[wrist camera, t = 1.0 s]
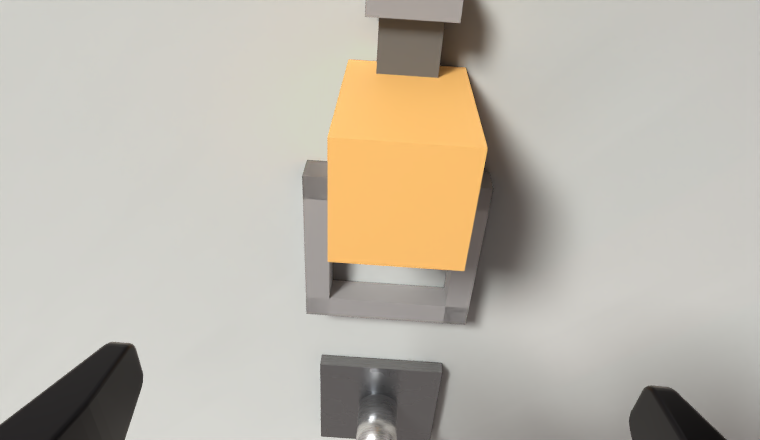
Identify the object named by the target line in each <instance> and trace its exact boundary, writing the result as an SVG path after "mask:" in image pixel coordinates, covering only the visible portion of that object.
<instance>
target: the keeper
mask: <svg viewBox="0 0 760 440" xmlns="http://www.w3.org/2000/svg"><path fill="white" fill-rule="evenodd" d="M320 377H321V436H323V437H338V438H352V439H356V440H430V436H431V430H432V425H433V420H434V414H435V409H436V403H437V398H438V393H439V387H440V382H441V377H442V363H433V362H418V361H403V360H389V359H374V358H360V357H345V356H330V355H322V357H321V364H320Z"/></svg>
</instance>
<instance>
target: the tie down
mask: <svg viewBox="0 0 760 440" xmlns="http://www.w3.org/2000/svg"><path fill="white" fill-rule="evenodd" d="M462 7H463V0H366V6H365V17H378V18H379V31H378V50H377V61H363V60H348V63H347V67H346V71H345V75H344V78H343V82H342V86H341V89H340V93H339V97H338V100H337V104H336V108H335V112H334V115H333V119H332V123H331V126H330V130H329V134H328V161H313V160H307V162H306V166H305V169H304V172H303V175H302V183H303V216H304V248H305V280H306V312H307V314H317V315H332V316H347V317H361V318H376V319H390V320H405V321H420V322H434V323H449V324H463V325H465V324H466V319H467V315H468V310H469V305H470V300H471V295H472V290H473V286H474V281H475V276H476V271H477V266H478V261H479V257H480V252H481V247H482V242H483V237H484V232H485V228H486V223H487V218H488V213H489V208H490V204H491V199H492V194H493V185H492V181H491V177H490V173H489V172H483V171H484V165H485V160H486V155H487V149H488V148H487V144H486V140H485V137H484V133H483V129H482V126H481V122H480V118H479V115H478V111H477V107H476V104H475V100H474V96H473V93H472V89H471V85H470V82H469V78H468V74H467V71H466V67H451V66H440V58H441V50H442V42H443V33H444V25H445V22H452V23H460V22H461V15H462ZM333 262H338V263H352V264H367V265H382V266H396V267H411V268H425V269H440V270H447V272H446V278H445V284H444V288H441V287H426V286H412V285H397V284H382V283H368V282H353V281H339V280H332V268H333Z"/></svg>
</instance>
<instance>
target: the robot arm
mask: <svg viewBox="0 0 760 440" xmlns="http://www.w3.org/2000/svg"><path fill="white" fill-rule="evenodd" d="M142 383H143V372H142V368H141V365H140V361H139V358H138V354H137V351H136V348H135V346H134V345H133V344H130V343H120V342H110V343H108V344H106V345H104V346H103V347H101V348H100V349H99V350H97V351H96V352H95V353H93V354H92V355H91V356H90V357H88V358H87V359H86V360H84V361H83V362H82V363H80V364H79V365H78V366H76V367H75V368H74V369H72V370H71V371H70V372H69V373H67V374H66V375H65V376H63V377H62V378H61V379H59V380H58V381H57V382H55V383H54V384H53V385H52V386H50V387H49V388H48V389H46V390H45V391H44V392H42V393H41V394H40V395H38V396H37V397H36V398H34V399H33V400H32V401H31V402H29V403H28V404H27V405H25V406H24V407H23V408H21V409H20V410H19V411H17V412H16V413H15V414H13V415H12V416H11V417H10V418H8V419H7V420H6V421H4V422H3V423H2V424H0V440H125V437H126V434H127V431H128V428H129V425H130V422H131V419H132V416H133V412H134V409H135V406H136V403H137V400H138V397H139V394H140V391H141V388H142ZM629 426H630V431H631V437H632V440H726V439H725V438H724V437H723V436H722V435H721V434H720V433H719V432H718V431H717V430H716V429H715V428H714V427H713V426H712V425H711V424H710V423H709V422H708V421H706V420H705V419H704V418H703V417H702V416H701V415H700V414H699V413H698V412H697V411H696V410H695V409H694V408H693V407H692V406H691V405H690V404H689V403H688V402H687V401H686V400H685V399H683V398H682V397H681V396H680V395H679V394H678V393H677V392H676V391H675V390H673V389H672V388H669V387H663V386H647V387H645V388H644V389H643V391H642V393H641V395H640V397H639V398H638V400H637V402H636V404H635V406H634V407H633V409H632V411H631V413H630V418H629Z"/></svg>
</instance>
